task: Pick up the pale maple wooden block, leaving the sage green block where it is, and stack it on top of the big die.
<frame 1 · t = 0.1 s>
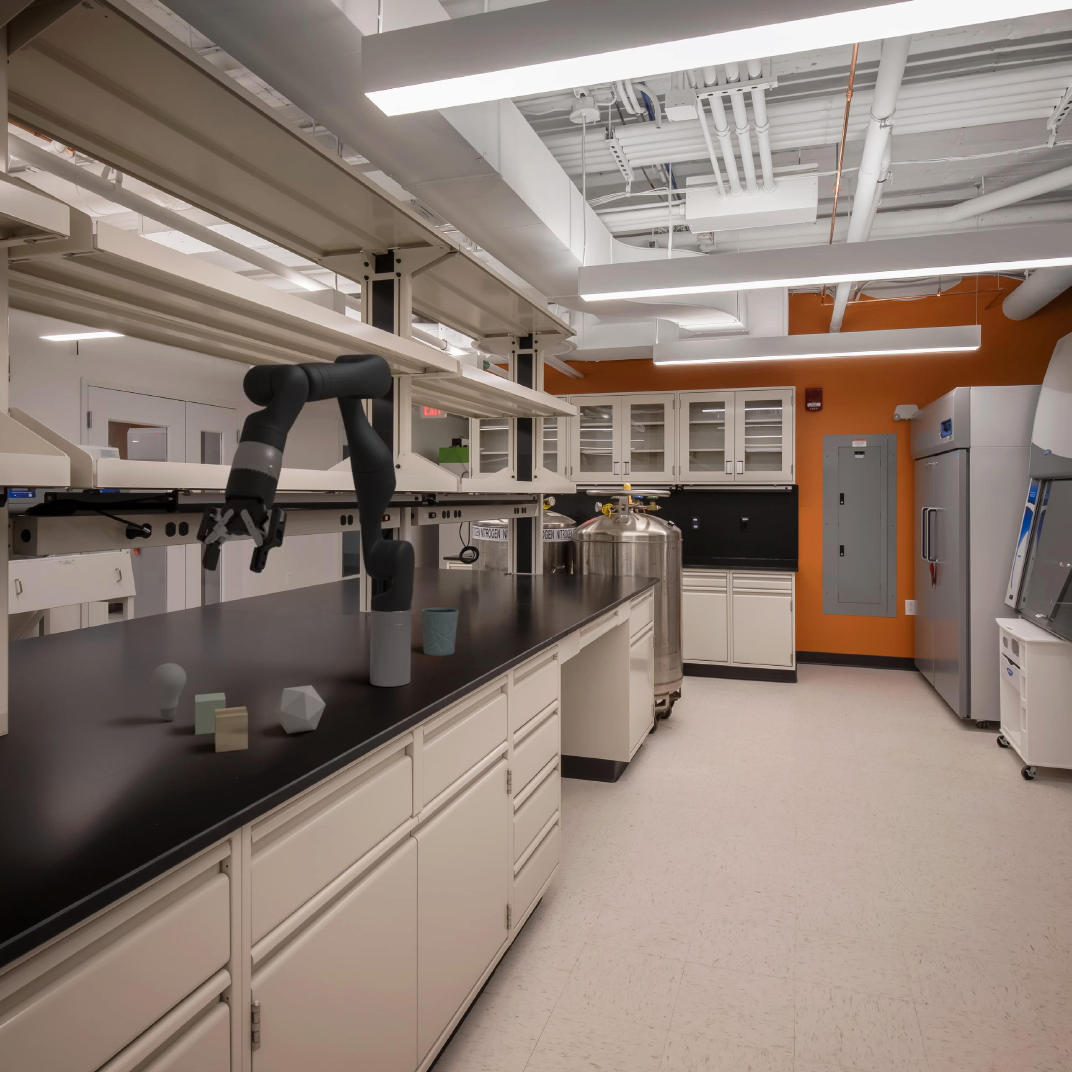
hand: (231, 570, 116), 31 cm above the table, tool tilted 20°, fingers open, 8 cm apart
die: (299, 730, 137), on the table
maple block: (231, 746, 128), on the table
lightbulb: (168, 721, 140), on the table
teal plant pot: (439, 653, 207), on the table
sage block: (210, 729, 136), on the table
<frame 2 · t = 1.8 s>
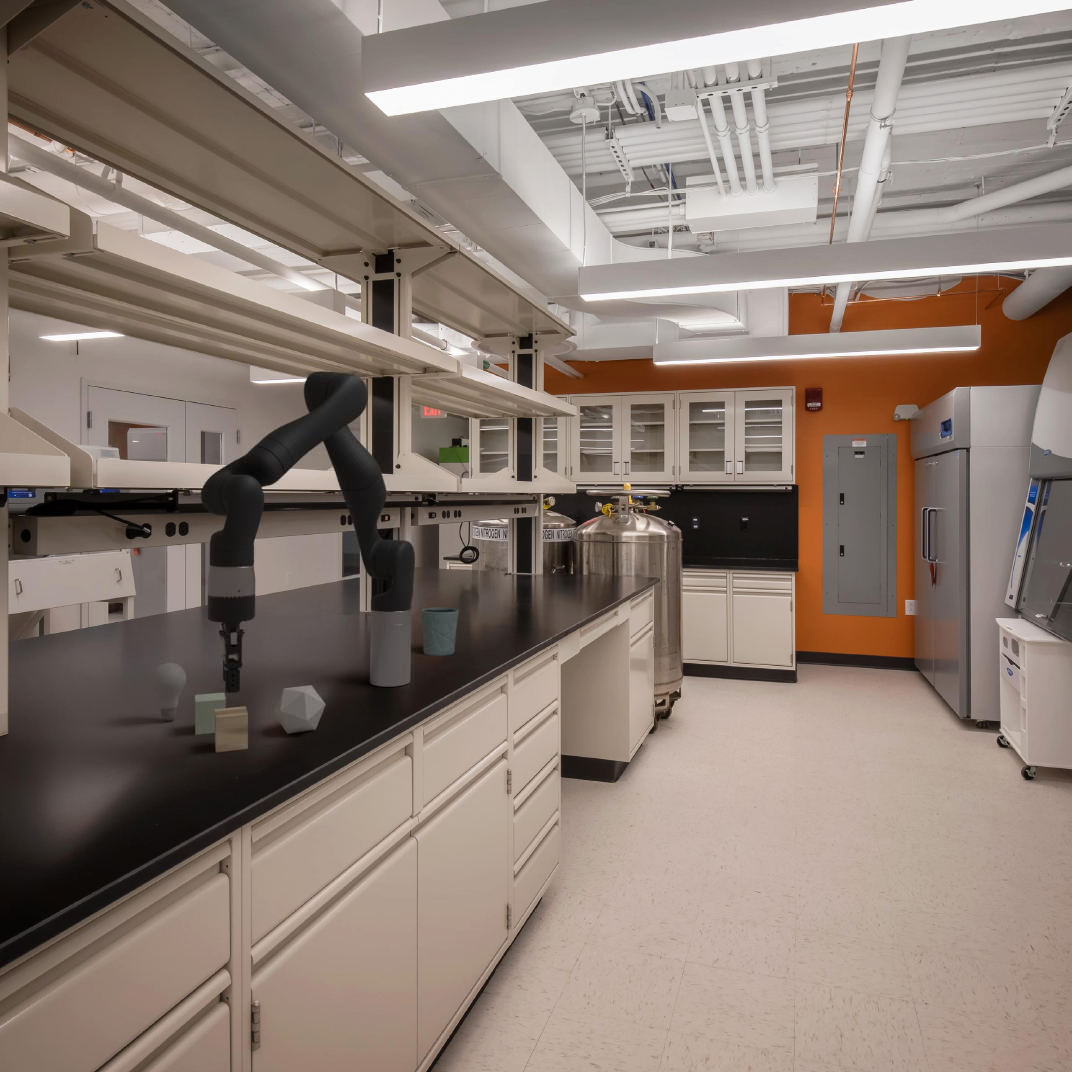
hand: (231, 686, 127), 10 cm above the table, tool pointing down, fingers open, 8 cm apart
nothing on the table moved.
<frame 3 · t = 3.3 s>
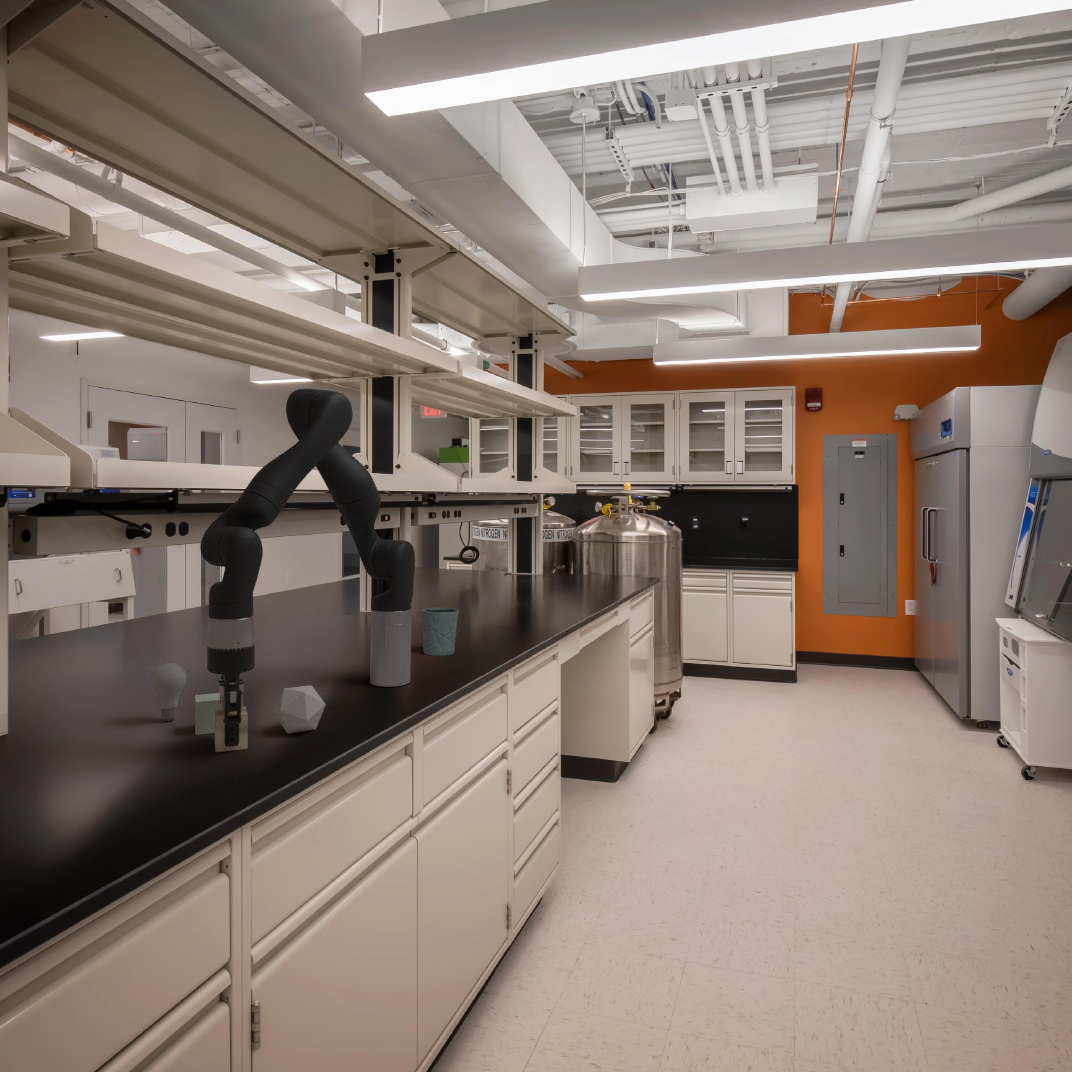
hand: (230, 740, 127), 1 cm above the table, tool pointing down, fingers closed on maple block, 5 cm apart
maple block: (230, 745, 128), on the table, touching gripper
everything else where it was.
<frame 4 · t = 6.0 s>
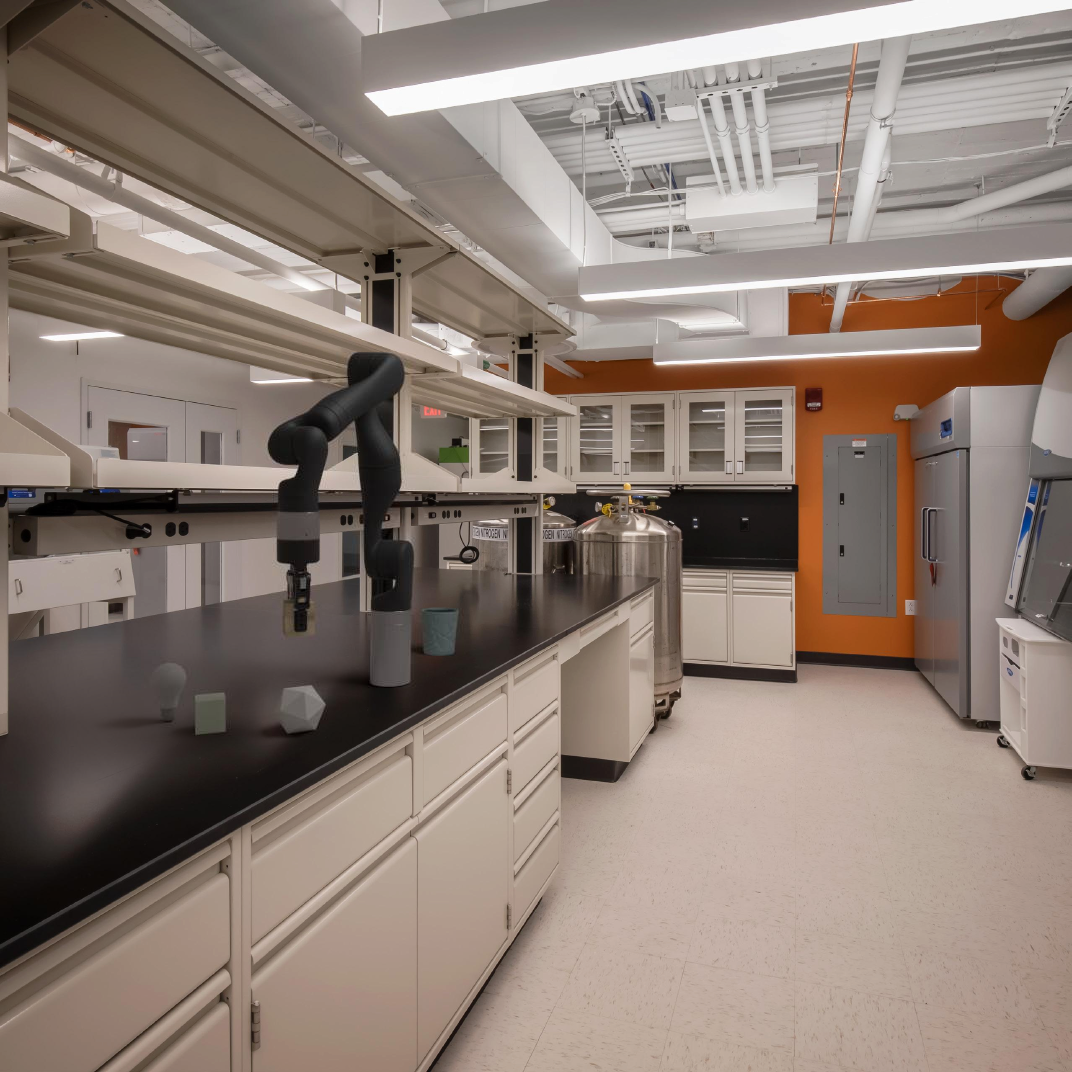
hand: (298, 628, 136), 19 cm above the table, tool pointing down, fingers closed on maple block, 5 cm apart
maple block: (298, 633, 136), point 18 cm above the table, touching gripper
everything else where it was.
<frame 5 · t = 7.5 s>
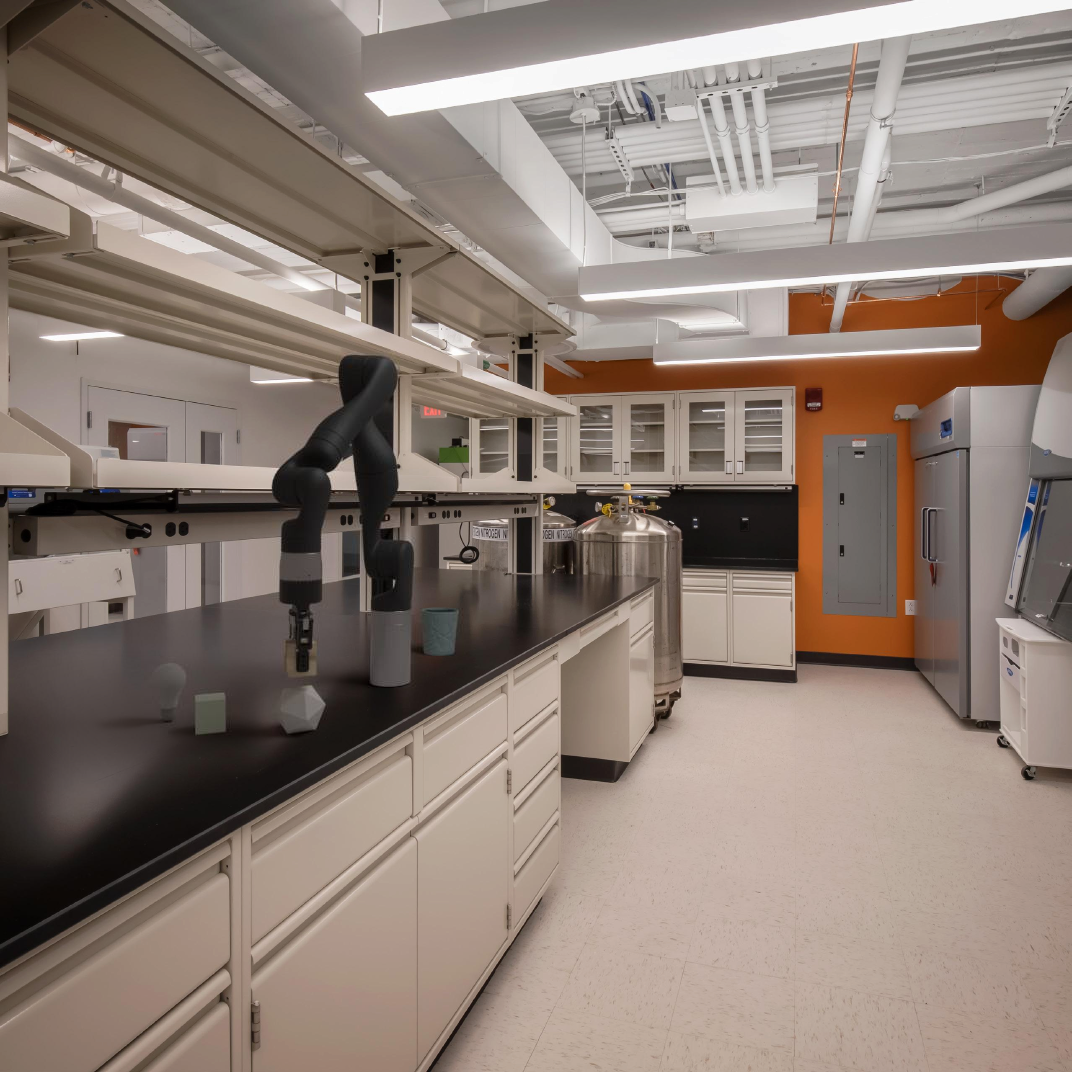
hand: (300, 668, 137), 11 cm above the table, tool pointing down, fingers closed on maple block, 5 cm apart
maple block: (300, 673, 137), point 10 cm above the table, touching gripper
everything else where it was.
when the fingers open (10 cm above the table, at t = 8.6 s): maple block drops 2 cm, resting on die.
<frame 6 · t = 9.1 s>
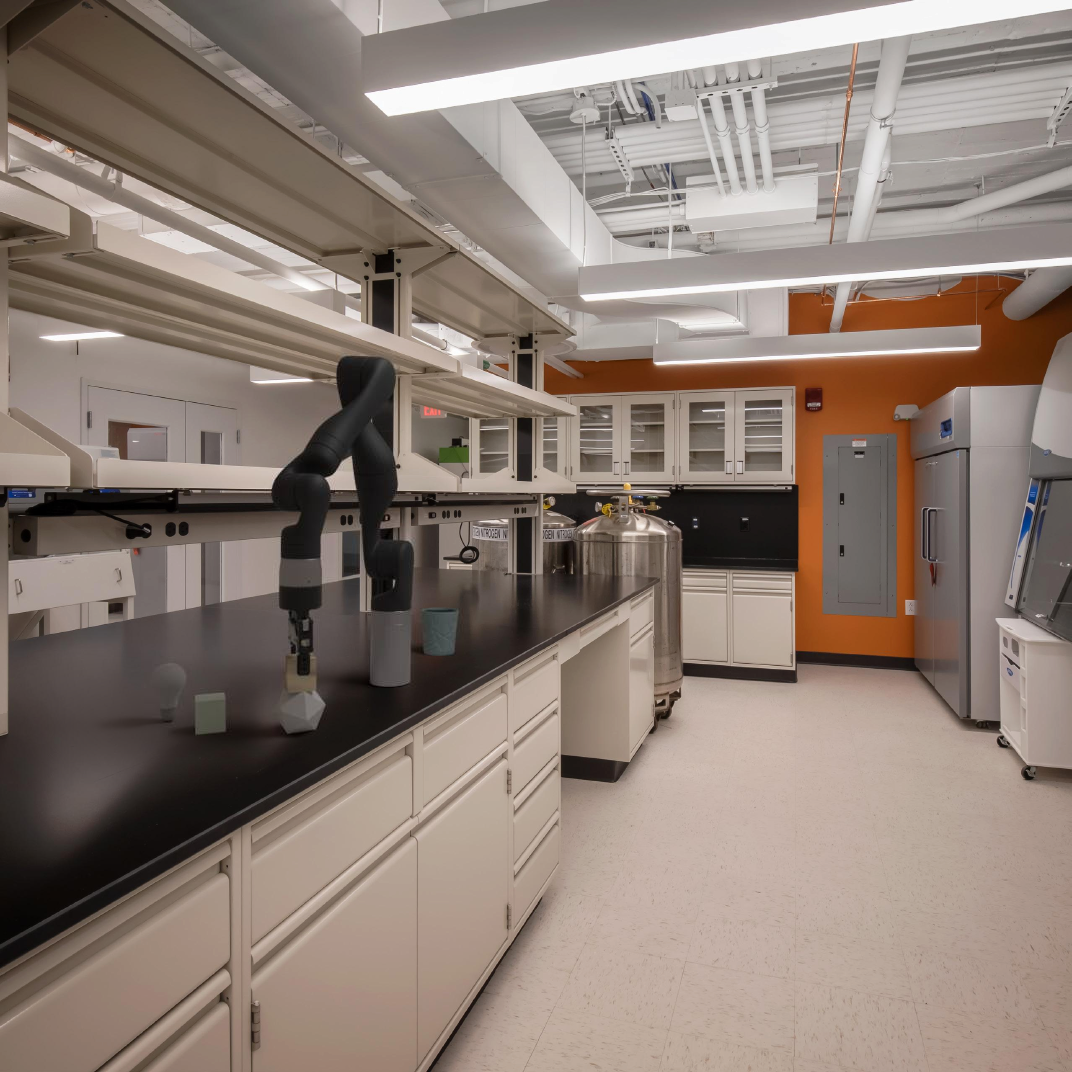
hand: (300, 669, 137), 11 cm above the table, tool pointing down, fingers open, 8 cm apart
die: (299, 730, 137), on the table, touching maple block
maple block: (300, 688, 137), point 8 cm above the table, touching die
everything else where it was.
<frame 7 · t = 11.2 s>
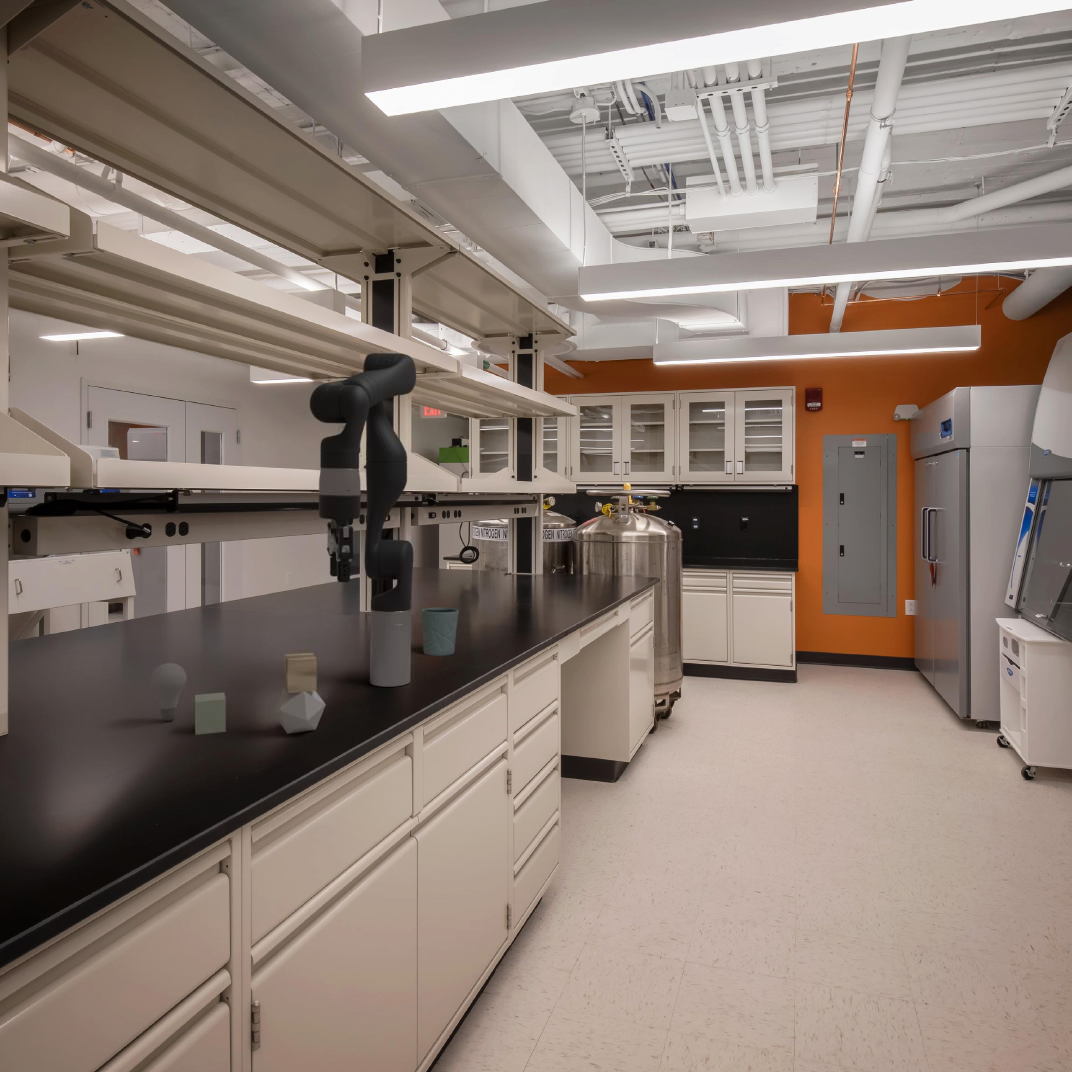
hand: (339, 578, 140), 28 cm above the table, tool pointing down, fingers open, 8 cm apart
nothing on the table moved.
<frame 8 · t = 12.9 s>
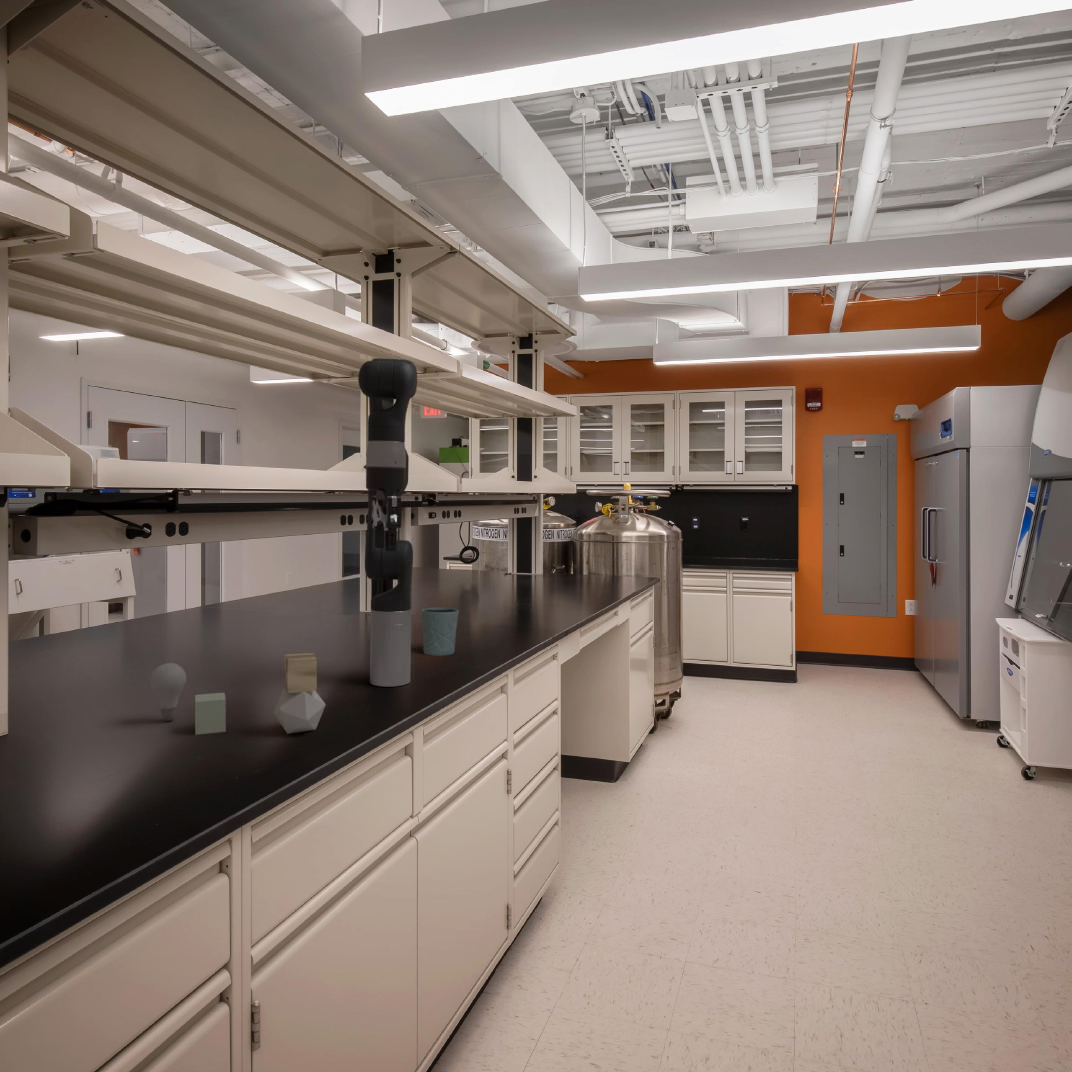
hand: (384, 549, 144), 33 cm above the table, tool pointing down, fingers open, 8 cm apart
nothing on the table moved.
at the end: maple block inside the target area on the die (0.1 cm from its centre), point 7.9 cm above the die's base; maple block tilted 0°; sage block moved 0.1 cm from its start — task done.
